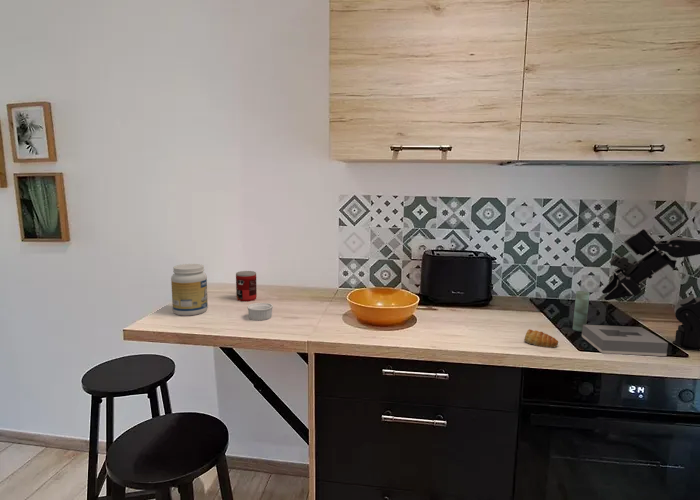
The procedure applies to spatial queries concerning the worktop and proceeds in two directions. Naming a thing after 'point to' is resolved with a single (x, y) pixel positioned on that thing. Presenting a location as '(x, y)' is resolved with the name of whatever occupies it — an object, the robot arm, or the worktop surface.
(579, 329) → the teal post
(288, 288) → the worktop surface
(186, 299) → the supplement tub
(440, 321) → the worktop surface
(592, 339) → the keyhole plate
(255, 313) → the ramekin
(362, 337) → the worktop surface
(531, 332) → the pastry
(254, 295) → the canned food
